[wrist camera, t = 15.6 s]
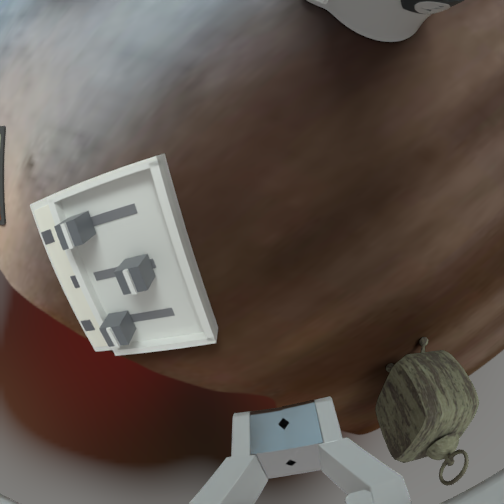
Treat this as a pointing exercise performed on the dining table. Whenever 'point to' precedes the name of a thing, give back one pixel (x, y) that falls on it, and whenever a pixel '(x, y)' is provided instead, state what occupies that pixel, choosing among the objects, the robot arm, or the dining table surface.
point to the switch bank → (126, 246)
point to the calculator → (2, 175)
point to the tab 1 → (75, 230)
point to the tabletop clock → (426, 408)
